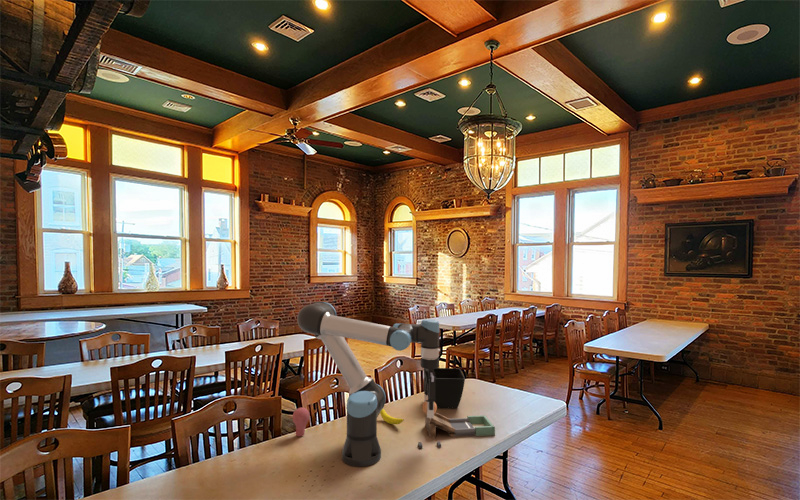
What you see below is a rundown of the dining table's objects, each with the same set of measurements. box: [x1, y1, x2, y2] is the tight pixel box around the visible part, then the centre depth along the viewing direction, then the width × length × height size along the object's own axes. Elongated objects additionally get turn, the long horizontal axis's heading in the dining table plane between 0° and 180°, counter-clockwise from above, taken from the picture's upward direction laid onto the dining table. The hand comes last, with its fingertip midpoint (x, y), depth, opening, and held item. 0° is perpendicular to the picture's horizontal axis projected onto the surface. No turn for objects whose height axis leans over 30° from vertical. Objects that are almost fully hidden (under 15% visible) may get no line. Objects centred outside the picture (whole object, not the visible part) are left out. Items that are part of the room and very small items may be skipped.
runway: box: [449, 417, 476, 437], centre depth 175 cm, size 10×12×3 cm
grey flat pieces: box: [417, 440, 442, 449], centre depth 159 cm, size 9×3×1 cm, turn 96°
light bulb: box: [292, 407, 310, 437], centre depth 168 cm, size 7×7×12 cm
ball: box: [422, 401, 438, 415], centre depth 160 cm, size 6×6×6 cm
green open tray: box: [466, 414, 496, 437], centre depth 176 cm, size 9×13×4 cm, turn 6°
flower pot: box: [434, 367, 466, 409], centre depth 207 cm, size 19×19×17 cm
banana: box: [379, 408, 405, 425], centre depth 182 cm, size 3×19×6 cm, turn 39°
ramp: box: [424, 411, 456, 438], centre depth 174 cm, size 12×12×8 cm
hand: (428, 414), depth 160 cm, fingers closed on ball, 6 cm apart
